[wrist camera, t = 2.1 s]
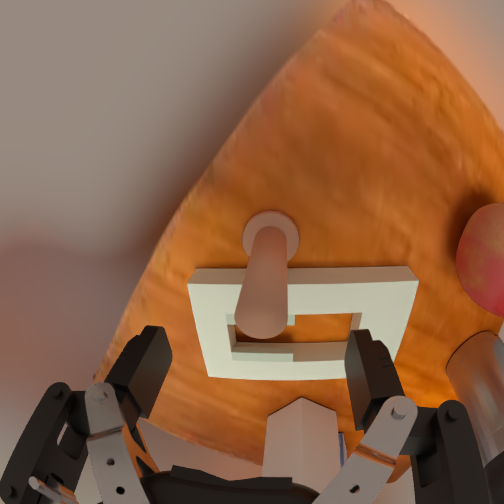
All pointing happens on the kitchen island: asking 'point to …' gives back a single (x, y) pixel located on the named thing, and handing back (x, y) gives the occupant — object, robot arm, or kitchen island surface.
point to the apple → (483, 258)
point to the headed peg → (266, 274)
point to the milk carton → (302, 444)
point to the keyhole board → (300, 302)
